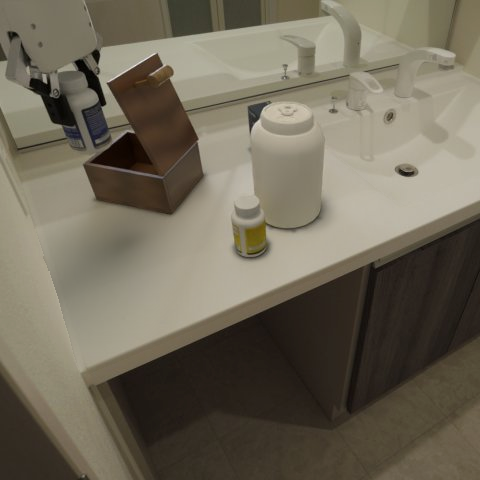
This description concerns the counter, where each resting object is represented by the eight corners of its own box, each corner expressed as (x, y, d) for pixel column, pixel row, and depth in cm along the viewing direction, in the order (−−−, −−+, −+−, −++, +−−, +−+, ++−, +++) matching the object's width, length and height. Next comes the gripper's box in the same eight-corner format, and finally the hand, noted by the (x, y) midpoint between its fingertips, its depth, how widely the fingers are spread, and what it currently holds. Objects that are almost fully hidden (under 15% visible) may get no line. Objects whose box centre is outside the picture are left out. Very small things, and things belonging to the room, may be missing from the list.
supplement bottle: (272, 241, 73) (269, 195, 66) (258, 261, 69) (255, 215, 62) (244, 233, 74) (239, 188, 67) (229, 253, 70) (222, 207, 64)
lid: (105, 82, 62) (134, 75, 60) (153, 53, 72) (179, 46, 70) (160, 177, 72) (185, 173, 70) (195, 139, 81) (219, 136, 80)
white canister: (258, 189, 84) (252, 92, 71) (320, 190, 85) (325, 95, 71) (251, 229, 75) (242, 127, 61) (321, 231, 75) (327, 130, 62)
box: (250, 149, 95) (246, 105, 88) (272, 143, 98) (270, 100, 91) (265, 165, 91) (263, 120, 84) (288, 159, 93) (288, 114, 86)
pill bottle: (111, 133, 61) (89, 66, 55) (114, 151, 58) (92, 81, 51) (70, 140, 59) (43, 70, 53) (71, 158, 56) (42, 86, 49)
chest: (96, 199, 79) (82, 164, 74) (136, 163, 89) (126, 129, 84) (171, 214, 77) (162, 179, 72) (203, 175, 87) (197, 141, 82)
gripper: (49, -63, 50) (97, 86, 62) (-88, -42, 38) (5, 139, 50) (105, -58, 49) (142, 93, 61) (-19, -34, 36) (59, 150, 48)
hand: (80, 112), depth 55 cm, fingers closed on pill bottle, 5 cm apart
